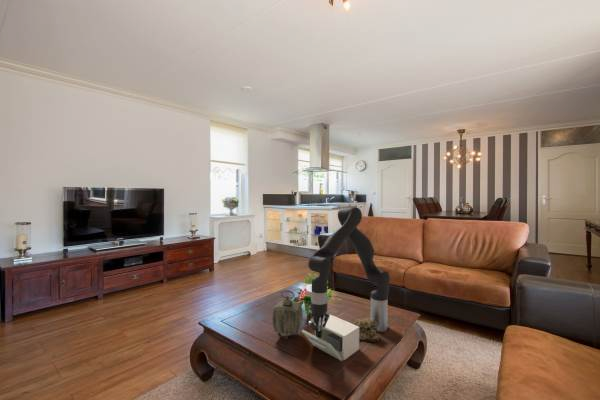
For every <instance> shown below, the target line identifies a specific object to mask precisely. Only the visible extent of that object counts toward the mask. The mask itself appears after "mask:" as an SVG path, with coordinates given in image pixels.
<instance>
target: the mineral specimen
mask: <svg viewBox="0 0 600 400" xmlns="http://www.w3.org/2000/svg"><path fill="white" fill-rule="evenodd" d="M352 324H354V325H356V326H358V327H359V341H361V340H362V341H367V342H370V343H371V342H372V343H374V342H379V340H380V336H379V335H378V331H377V322H376V321H373V320H371V319H370V317H362V318H357V319H355V320H354V321H353V322H352Z"/></svg>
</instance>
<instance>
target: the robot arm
mask: <svg viewBox="0 0 600 400" xmlns="http://www.w3.org/2000/svg"><path fill="white" fill-rule="evenodd" d="M362 217H363V213H362V210H361V209H360V208H359V207H356V206H353V207H352V206H347V207H345V206H344V207H341V208H339V209H338V211H337V218H338V219H337V220H338V222H339V223H340V225H341V227H339V228H338V229H336V230H335V231H333V232H332V233H331V234H330V235H329V236H328V237H327V238H326V240H325V242H324V243H323V244H322V246H321V247H320V248H319V249H318V250H317V251H316V252H314V253H313V254H312V255H311V257H309V259H308V268H309V270H310V271H312V272H316V273H319V275H318V276H313V278H312V279H311V293H310V311H311V319H310V320H308V321H307V324H308V326H309V327H310V329H311V330H313V331H314V336H316V337H318V338H321V336H322V329H323V327H325V326H326V323H327V321H328V319H329V316H330V315H331V314H328V313H327V312H328V300H329V299H328V282H329V277H330V273H331V271H332V263H331V260H330V259H332V258H334V257H335V255H336V254H337V252H338V250H339V249H340V247H341V246H342V245H343V243H344V241H345V240H346V239H347V237H348V238H349V241H350V242H351V243H352V246H353V248H354V250H355V252H356V254H357V256H358V258H359V260H360V263H361V265H362V268H363V270H364V272H365V275H366V277H367V280H368V282H370V283H371V284H372V285H374V286H377V287H376V289H374V290H372V291H371V292H370V304H369V305H370V308H369V310H370V313H369V315H370V316H369V318H370V319H371V320H373V321H376V322H377V332H378V333H379V332H386V331H387V330H388V317H389V316H388V314H389V311H388V299H389V293H390V286H391V285H390V283H391V278H390V277H391V276H390V274H389V273H390V272H388V271H387V270H383V269H381V268H378V267H377V266H376V264H375V262H374V256H375V249H374V247H373V244H372V242H371V240H370V238H368V236H366V234H364V232H362V231H361V230H360V229H359V228H357V226H358V225H359V224H360V223H361V222H362ZM324 321H325V322H324Z"/></svg>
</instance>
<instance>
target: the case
mask: <svg viewBox="0 0 600 400" xmlns="http://www.w3.org/2000/svg"><path fill="white" fill-rule="evenodd" d="M329 315H330V316H329V319H328V321H327V323H326V326H325V327H323V329H322V336H321V338H320V339H322V340H324V341H326V342H328V343H330V344H331V345H332V346H333V348H334V349H335V350H336V351H337V353H338V354H339V355H340V357H341V358H342V359H343V360H342V361H345V360H346V359H348V358H349V357H351V356H352V355H353V354H355V353H357V352H358V351H359V350H360V339H359V327H358V326H356V325H354V324H353V323H351V322H349V321H347V320H344V319H341V318H339V317H337V316H335V315H333V314H329ZM324 322H325V321H324Z"/></svg>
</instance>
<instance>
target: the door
mask: <svg viewBox="0 0 600 400" xmlns="http://www.w3.org/2000/svg"><path fill="white" fill-rule="evenodd" d="M301 332H302V334H303V335H304V336H305V337H306V339H307V340H308V341H309V342H310V343H311V344H312V346H313V347H316V348H317V349H319V350H321V351H322V352H324V353H326V354H328V355H330V356H332V357H333V358H335V359H337V360H339V361H340V362H342V361H344V360H343V359H342V358H341V357H340V355H339V354H338V353H337V351H336V350H335V349H334V348H333V346H332V345H331V344H330V343H328V342H326V341H324V340H322V339H320V338H318V337H316V336H315V334H312V333H311V332H308V331H306V330H304V329H302V330H301Z"/></svg>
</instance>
